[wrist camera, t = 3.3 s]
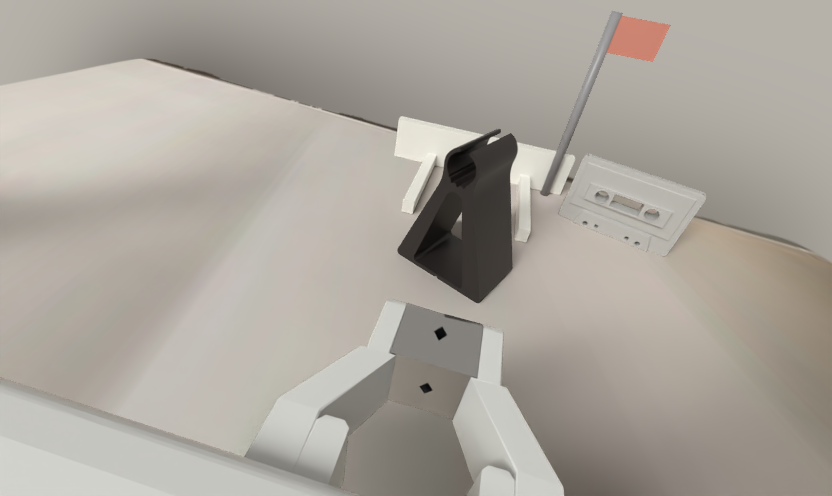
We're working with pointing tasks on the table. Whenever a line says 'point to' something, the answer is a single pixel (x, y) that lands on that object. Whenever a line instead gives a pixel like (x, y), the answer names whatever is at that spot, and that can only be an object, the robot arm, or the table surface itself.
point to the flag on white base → (531, 162)
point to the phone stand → (468, 218)
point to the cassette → (625, 221)
